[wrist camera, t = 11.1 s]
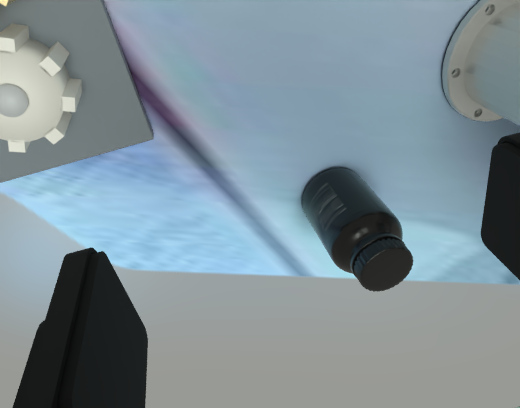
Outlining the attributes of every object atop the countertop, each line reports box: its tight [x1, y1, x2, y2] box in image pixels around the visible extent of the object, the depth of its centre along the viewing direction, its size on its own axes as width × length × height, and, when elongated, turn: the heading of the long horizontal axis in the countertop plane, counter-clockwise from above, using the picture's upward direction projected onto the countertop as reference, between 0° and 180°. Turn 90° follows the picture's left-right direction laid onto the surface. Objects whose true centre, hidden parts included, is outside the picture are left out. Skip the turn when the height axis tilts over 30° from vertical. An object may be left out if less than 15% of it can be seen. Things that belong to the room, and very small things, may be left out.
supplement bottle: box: [302, 168, 413, 291], centre depth 40 cm, size 7×7×12 cm
